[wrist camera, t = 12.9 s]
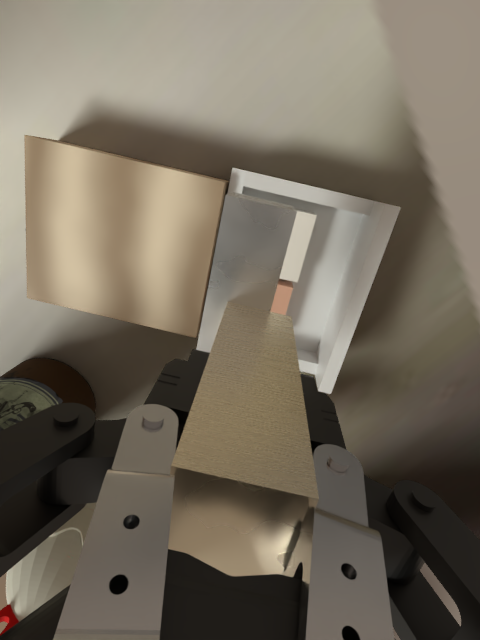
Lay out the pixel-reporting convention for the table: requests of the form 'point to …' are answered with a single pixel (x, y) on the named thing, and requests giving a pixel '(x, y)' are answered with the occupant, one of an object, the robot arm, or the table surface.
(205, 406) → the scraper
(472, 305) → the table surface
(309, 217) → the offwhite tile
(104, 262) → the tan flat block
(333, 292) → the box
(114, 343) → the table surface
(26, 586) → the kitchen timer
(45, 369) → the brown rum bottle
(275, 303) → the terracotta tile
